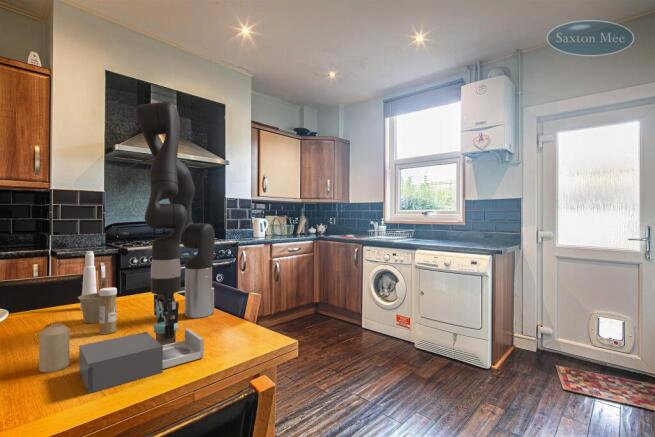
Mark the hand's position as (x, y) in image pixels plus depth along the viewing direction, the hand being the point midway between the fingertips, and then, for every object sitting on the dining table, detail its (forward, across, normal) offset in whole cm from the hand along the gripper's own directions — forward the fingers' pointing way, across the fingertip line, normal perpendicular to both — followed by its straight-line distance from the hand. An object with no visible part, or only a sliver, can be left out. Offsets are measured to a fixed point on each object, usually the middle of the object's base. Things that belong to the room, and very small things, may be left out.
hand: (165, 334), depth 94 cm
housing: (+3, -11, +13) cm, 17 cm away
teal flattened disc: (-1, 0, 0) cm, 1 cm away
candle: (+3, +2, +24) cm, 24 cm away
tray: (+3, -11, +3) cm, 12 cm away
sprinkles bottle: (+3, +22, +10) cm, 24 cm away
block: (+3, 0, 0) cm, 3 cm away
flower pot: (+3, +38, +11) cm, 40 cm away
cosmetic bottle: (+3, +58, +10) cm, 59 cm away
